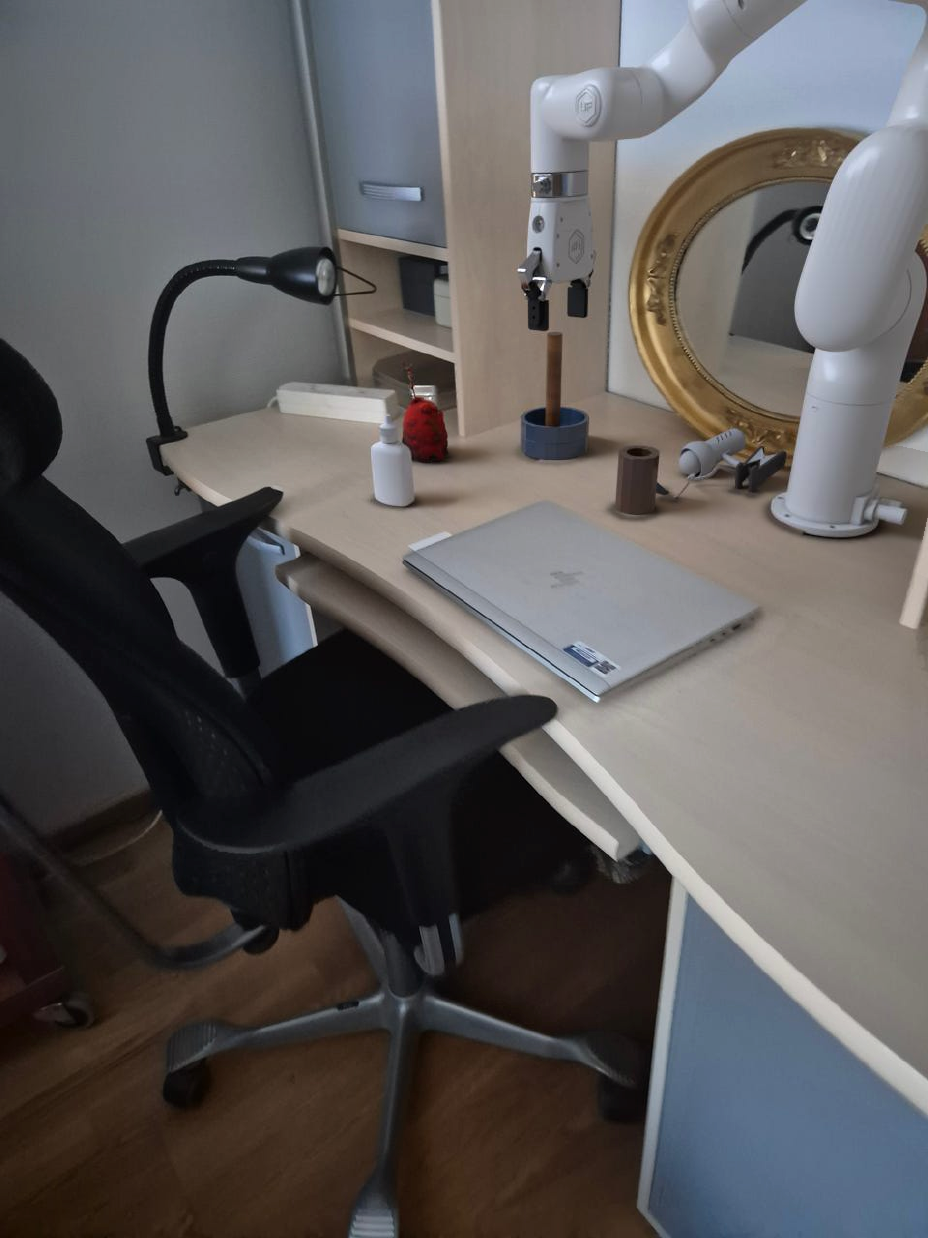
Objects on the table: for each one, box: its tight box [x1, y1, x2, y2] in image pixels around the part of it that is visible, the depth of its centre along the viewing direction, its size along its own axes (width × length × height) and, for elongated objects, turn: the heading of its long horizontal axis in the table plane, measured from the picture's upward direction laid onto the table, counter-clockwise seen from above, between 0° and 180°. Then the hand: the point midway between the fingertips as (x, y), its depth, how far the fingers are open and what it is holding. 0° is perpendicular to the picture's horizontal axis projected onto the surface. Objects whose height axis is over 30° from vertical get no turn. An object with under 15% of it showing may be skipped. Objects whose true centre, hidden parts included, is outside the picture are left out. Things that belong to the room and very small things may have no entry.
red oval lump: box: [400, 360, 449, 463], centre depth 121 cm, size 8×7×15 cm
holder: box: [614, 444, 660, 516], centre depth 103 cm, size 5×5×8 cm
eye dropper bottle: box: [370, 413, 415, 507], centre depth 108 cm, size 4×6×12 cm
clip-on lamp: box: [656, 427, 787, 498], centre depth 110 cm, size 12×6×18 cm
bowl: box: [520, 406, 590, 461], centre depth 123 cm, size 10×10×6 cm
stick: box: [545, 331, 564, 427], centre depth 120 cm, size 2×2×17 cm
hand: (558, 323), depth 115 cm, fingers open, 9 cm apart
